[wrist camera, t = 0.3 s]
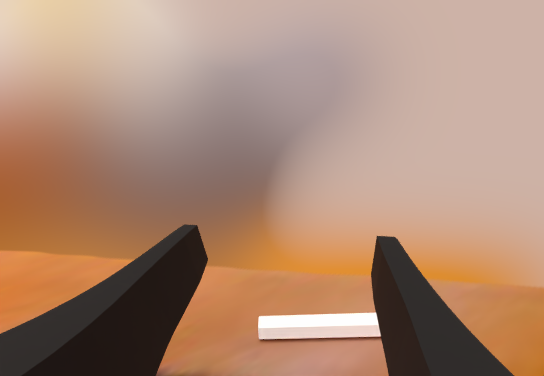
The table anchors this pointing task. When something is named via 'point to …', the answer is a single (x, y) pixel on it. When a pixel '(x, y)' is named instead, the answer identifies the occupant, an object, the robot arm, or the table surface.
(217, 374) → the table surface
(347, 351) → the table surface
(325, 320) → the marker
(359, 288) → the table surface
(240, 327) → the table surface
